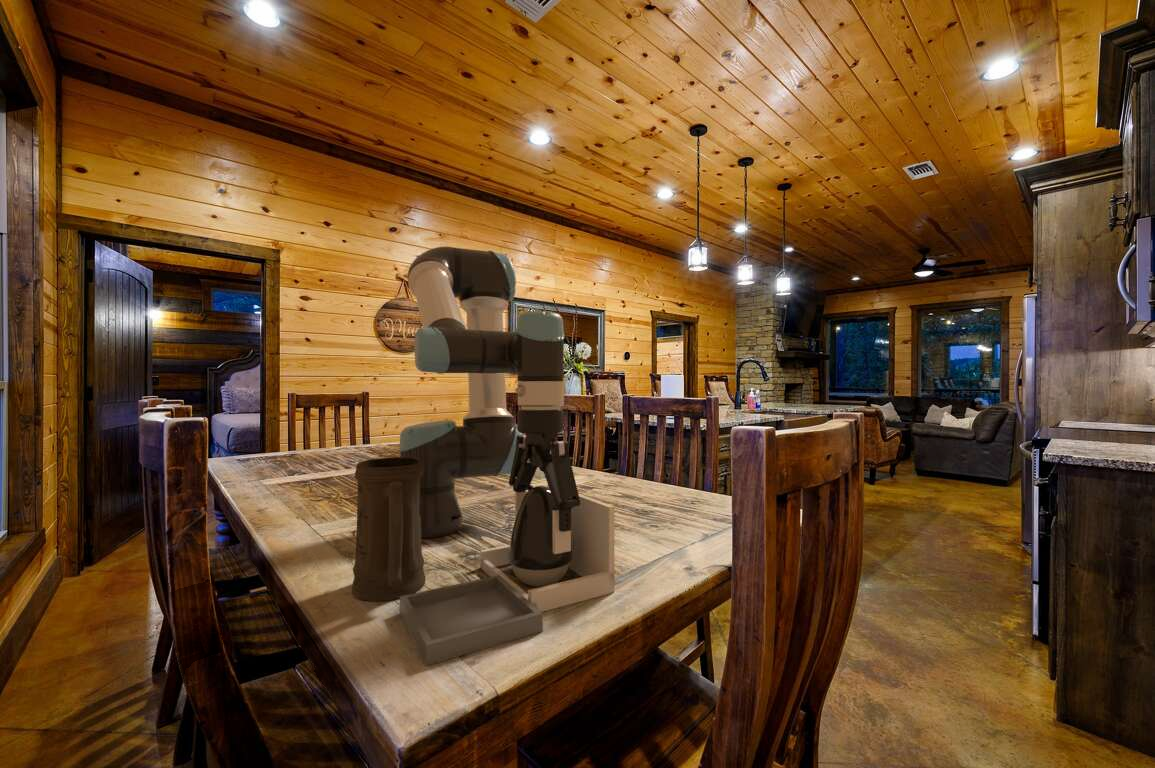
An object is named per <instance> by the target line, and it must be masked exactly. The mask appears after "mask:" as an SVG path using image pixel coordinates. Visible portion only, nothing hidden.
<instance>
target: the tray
mask: <svg viewBox="0 0 1155 768" xmlns="http://www.w3.org/2000/svg"><path fill="white" fill-rule="evenodd" d="M399 615H400V618H401V619H402V621H403V623H404V625H405V626H406V629H407V632H408V633H409V635H410V637H411V638H412V640H413V642H414V644H415V646H416V649H417V651H418V652H419V654H420V657H421V659H422V660H423V662H424V664H425V666H426V667H428V666H431V665H434V664H439V663H442V662H444V661H449V660H451V659H454V658H455V659H456V658H458V657H461V656H465V655H468V654H472V653H474V652H475V653H476V652H478V651H481V650H485V649H489V648H491V647H495V646H499V645H502V644H506V643H508V642H512V641H515V640H518V639H522V638H525V637H529V636H532V635H535V634H539V633H542V632H543V630H544V629H543V628H544V623H543V622H544V615H543V612H541V611H539V610H538V609H537V608H536V607H535V606H534V605H533V604H531V603H530V602H529V601H528V600H527V599H526V598H525V597H524V596H522V595H521V594H520V593H519V592H518V591H517V590H516V589H514V588H513V587H512V586H511V585H510V584H509V583H508V582H506V581H505V580H504V579H503V578H502V577H501V576H500V575H497V576H492V577H490V576H488V577H484V578H480V579H479V578H478V579H475V580H470V581H467V582H466V581H465V582H461V583H457V584H456V583H455V584H452V585H447V586H443V587H437V588H433V589H429V590H424V591H420V592H414V593H412V594H409V595H405V596H400V598H399Z"/></svg>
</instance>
